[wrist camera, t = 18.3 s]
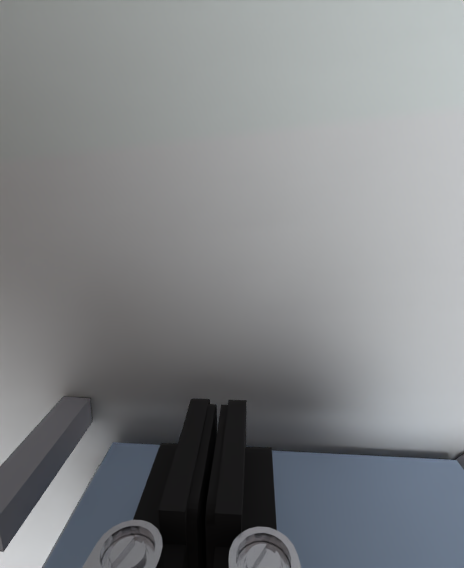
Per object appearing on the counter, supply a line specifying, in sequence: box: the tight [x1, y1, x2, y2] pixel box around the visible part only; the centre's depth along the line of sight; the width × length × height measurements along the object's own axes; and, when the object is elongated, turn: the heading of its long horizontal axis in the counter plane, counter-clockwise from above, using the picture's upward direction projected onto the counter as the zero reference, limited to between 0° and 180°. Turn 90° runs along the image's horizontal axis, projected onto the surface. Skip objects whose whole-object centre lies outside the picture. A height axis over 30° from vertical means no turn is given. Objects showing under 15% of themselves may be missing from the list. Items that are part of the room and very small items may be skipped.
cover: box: [44, 442, 464, 568], centre depth 11 cm, size 1×13×5 cm, turn 90°
